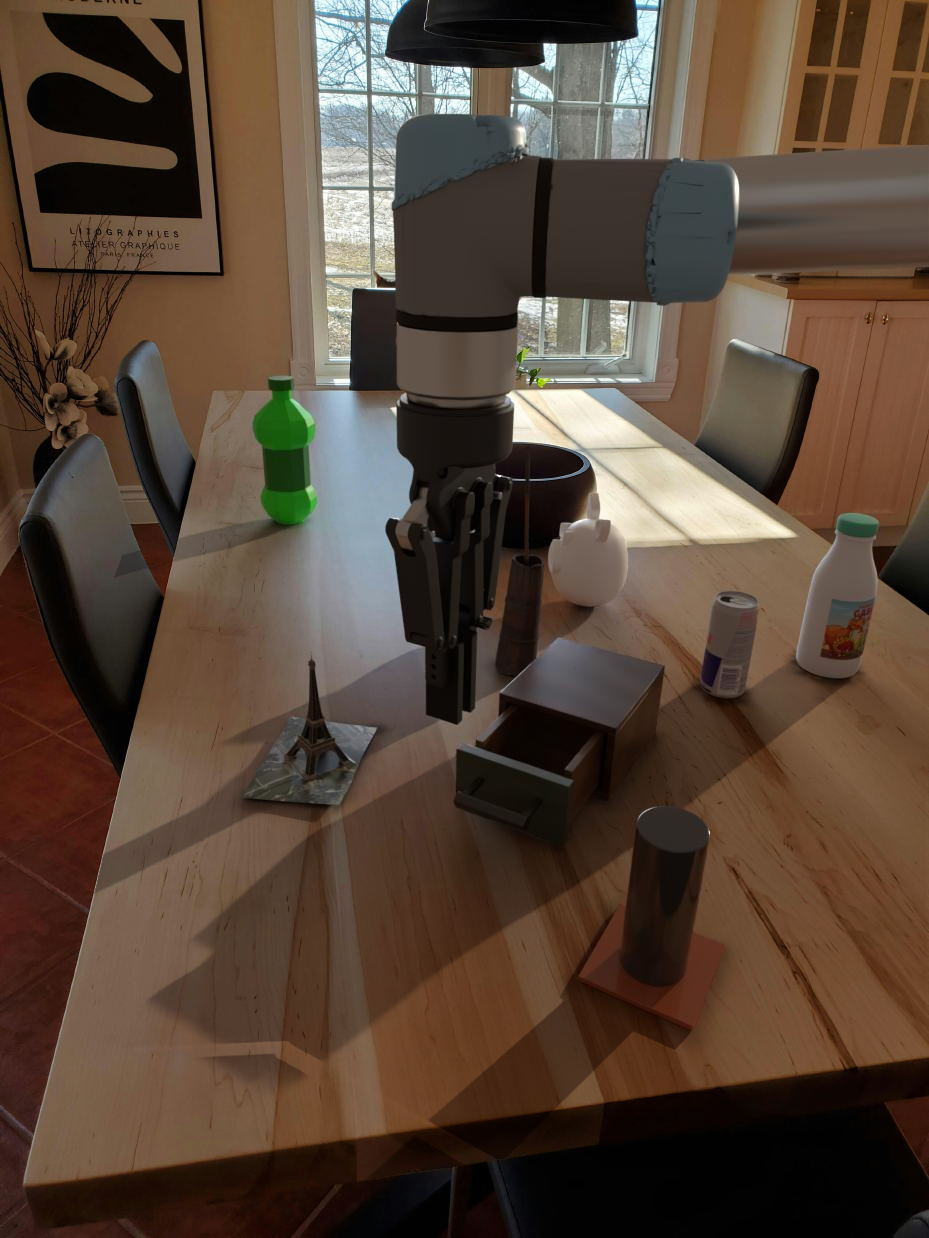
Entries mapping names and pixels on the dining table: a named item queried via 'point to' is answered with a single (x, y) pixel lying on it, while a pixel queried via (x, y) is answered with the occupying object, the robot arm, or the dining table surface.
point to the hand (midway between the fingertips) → (450, 711)
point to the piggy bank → (589, 559)
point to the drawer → (530, 772)
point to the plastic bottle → (285, 454)
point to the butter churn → (521, 603)
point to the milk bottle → (840, 601)
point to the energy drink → (729, 644)
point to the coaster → (663, 1001)
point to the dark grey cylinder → (663, 894)
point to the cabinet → (594, 699)
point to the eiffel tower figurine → (311, 757)
